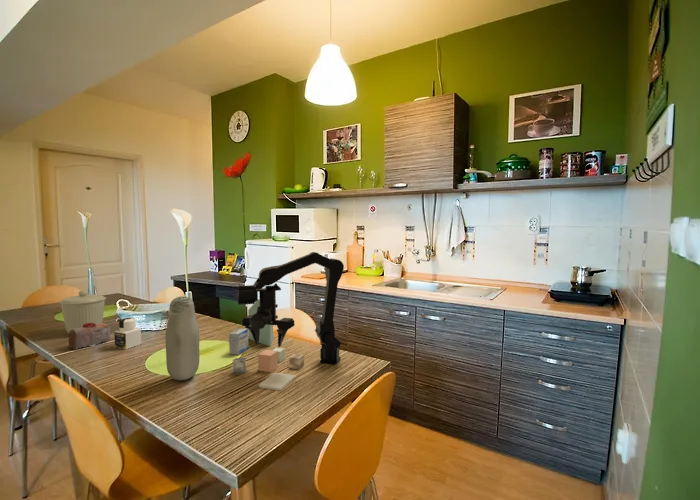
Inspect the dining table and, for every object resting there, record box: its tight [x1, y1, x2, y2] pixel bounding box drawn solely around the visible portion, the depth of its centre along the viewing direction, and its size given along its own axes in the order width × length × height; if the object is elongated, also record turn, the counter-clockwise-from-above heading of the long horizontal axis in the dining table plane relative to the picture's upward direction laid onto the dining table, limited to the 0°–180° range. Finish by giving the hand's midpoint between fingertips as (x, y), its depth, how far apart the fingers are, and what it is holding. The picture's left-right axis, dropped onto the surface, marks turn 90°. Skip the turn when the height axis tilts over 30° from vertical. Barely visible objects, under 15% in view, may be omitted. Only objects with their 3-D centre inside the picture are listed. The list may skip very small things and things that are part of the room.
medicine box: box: [228, 328, 249, 356], centre depth 141 cm, size 8×4×9 cm, turn 168°
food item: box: [67, 322, 111, 350], centre depth 149 cm, size 14×8×10 cm, turn 154°
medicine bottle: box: [114, 317, 142, 350], centre depth 147 cm, size 7×7×12 cm
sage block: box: [272, 347, 286, 363], centre depth 132 cm, size 4×4×4 cm
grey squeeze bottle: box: [164, 296, 200, 381], centre depth 114 cm, size 10×10×28 cm
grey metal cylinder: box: [232, 357, 247, 376], centre depth 120 cm, size 4×4×4 cm
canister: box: [58, 289, 107, 335], centre depth 166 cm, size 18×18×21 cm
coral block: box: [257, 349, 279, 373], centre depth 123 cm, size 5×5×6 cm
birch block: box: [288, 353, 305, 370], centre depth 125 cm, size 4×4×4 cm
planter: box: [247, 298, 274, 347], centre depth 155 cm, size 16×8×20 cm, turn 49°
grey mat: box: [258, 372, 296, 391], centre depth 112 cm, size 8×10×1 cm
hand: (268, 345), depth 123 cm, fingers open, 9 cm apart
